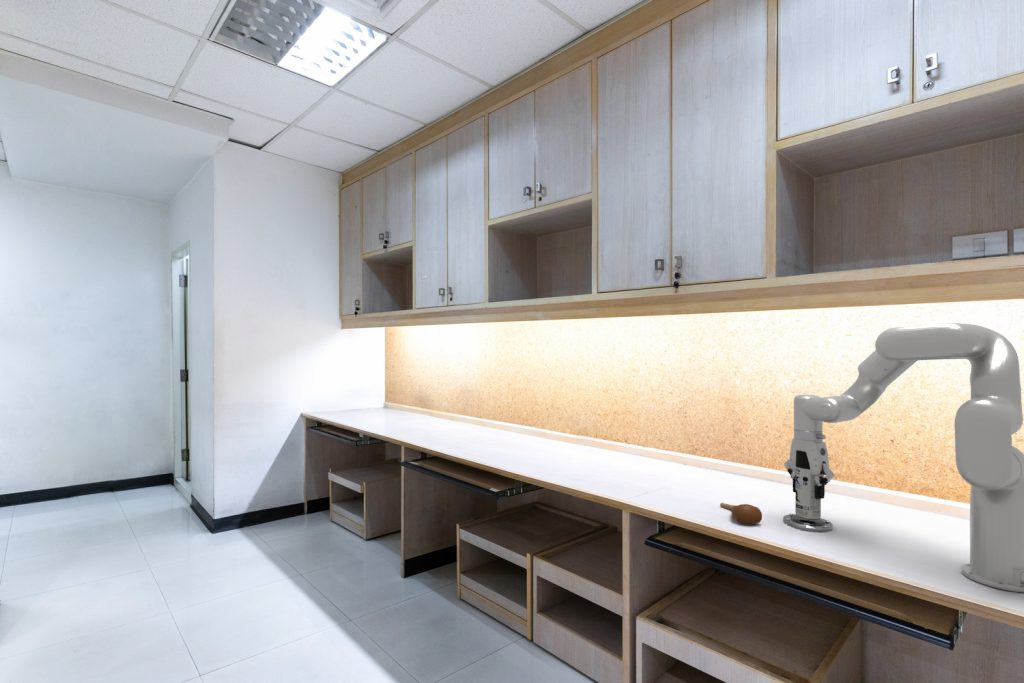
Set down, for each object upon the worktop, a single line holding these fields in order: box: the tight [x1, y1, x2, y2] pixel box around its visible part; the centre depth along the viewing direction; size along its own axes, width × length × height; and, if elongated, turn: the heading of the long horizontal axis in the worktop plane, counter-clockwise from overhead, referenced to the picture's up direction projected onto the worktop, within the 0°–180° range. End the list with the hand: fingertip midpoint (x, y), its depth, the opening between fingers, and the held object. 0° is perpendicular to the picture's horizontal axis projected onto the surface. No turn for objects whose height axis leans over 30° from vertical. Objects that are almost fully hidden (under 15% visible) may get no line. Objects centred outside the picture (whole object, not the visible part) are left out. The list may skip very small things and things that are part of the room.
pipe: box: [719, 502, 763, 526], centre depth 160 cm, size 8×19×6 cm, turn 9°
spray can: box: [794, 450, 822, 520], centre depth 153 cm, size 7×7×20 cm
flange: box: [782, 513, 834, 533], centre depth 153 cm, size 13×13×1 cm
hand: (808, 494), depth 153 cm, fingers closed on spray can, 6 cm apart
